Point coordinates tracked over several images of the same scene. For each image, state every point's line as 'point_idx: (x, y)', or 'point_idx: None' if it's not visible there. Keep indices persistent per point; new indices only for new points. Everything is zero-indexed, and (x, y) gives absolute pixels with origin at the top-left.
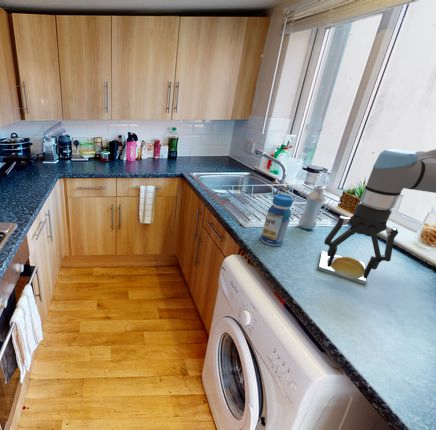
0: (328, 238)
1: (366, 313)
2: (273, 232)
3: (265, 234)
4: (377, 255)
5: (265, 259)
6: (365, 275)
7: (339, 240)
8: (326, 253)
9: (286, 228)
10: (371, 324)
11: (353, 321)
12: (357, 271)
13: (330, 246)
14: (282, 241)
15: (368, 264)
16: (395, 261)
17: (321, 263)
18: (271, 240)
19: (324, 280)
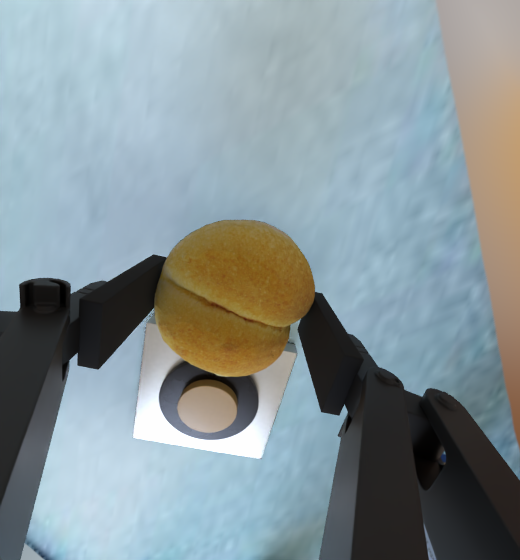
0: (488, 450)
1: (178, 103)
2: None
3: None
4: (39, 329)
5: (477, 337)
6: (157, 260)
7: (397, 443)
8: (249, 449)
9: (428, 542)
10: (173, 17)
11: (241, 2)
12: (202, 241)
13: (397, 378)
14: None
15: (132, 313)
16: (42, 489)
17: (283, 377)
18: (443, 457)
19: None
